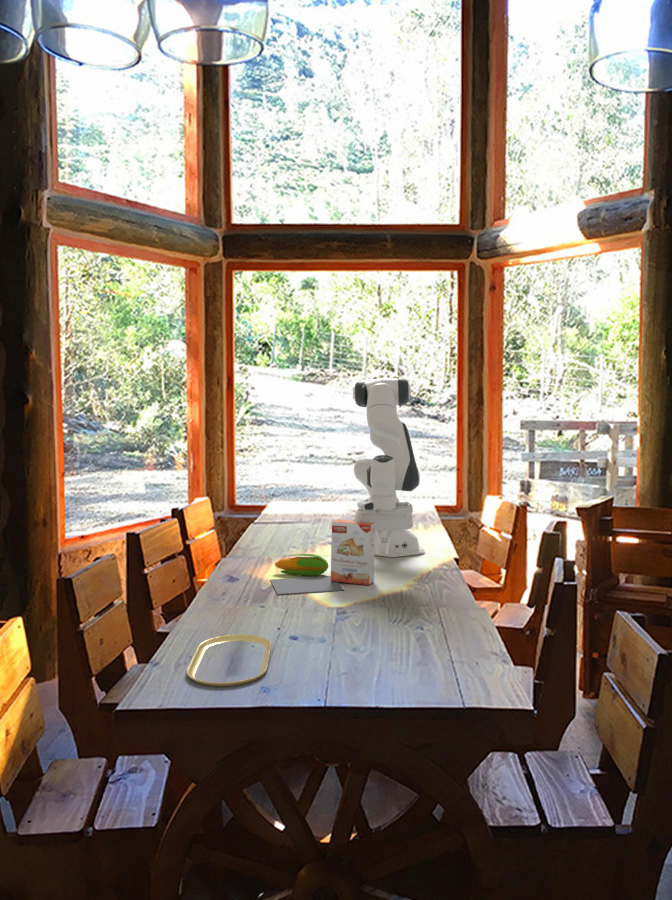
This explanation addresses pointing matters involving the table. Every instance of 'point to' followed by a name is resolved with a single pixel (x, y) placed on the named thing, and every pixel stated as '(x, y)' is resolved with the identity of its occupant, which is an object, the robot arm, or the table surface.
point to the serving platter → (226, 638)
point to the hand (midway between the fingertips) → (383, 542)
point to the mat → (305, 585)
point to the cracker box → (352, 552)
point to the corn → (303, 565)
